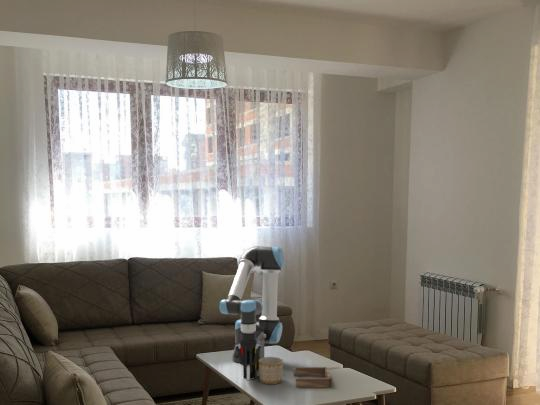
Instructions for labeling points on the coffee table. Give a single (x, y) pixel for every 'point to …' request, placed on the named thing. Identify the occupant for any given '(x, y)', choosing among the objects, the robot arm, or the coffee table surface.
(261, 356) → the electrical component
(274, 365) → the planter
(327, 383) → the walnut cradle
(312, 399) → the coffee table surface
